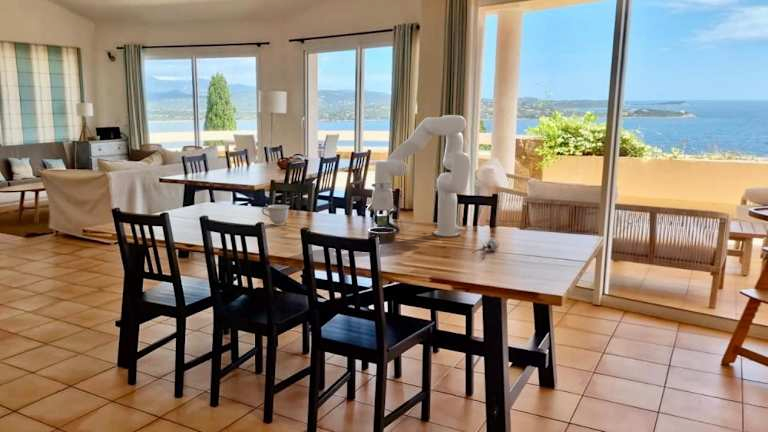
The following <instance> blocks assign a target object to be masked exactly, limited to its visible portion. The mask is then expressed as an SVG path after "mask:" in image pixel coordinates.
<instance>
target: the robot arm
mask: <svg viewBox="0 0 768 432" xmlns="http://www.w3.org/2000/svg"><path fill="white" fill-rule="evenodd" d="M466 127H467V121H466V118H465V117H463V116H462V115H460V114H445V115H442V116H441V117H434V116H433V117H424V119H423V120H422V121H421V122H420V123H419V124H418V125H417V127H416V128H415V130H413V132H412V133H411V134H410V136H409V137H408V138H407V139H406V140H404V142H402V143H401V144H400V145H399V146H397V147H396V148H395V149H394V150H393V151H392V152H391V153H390V155H389V156H388V157H387V159H377V160H376V161H375V163H374V182H373V183H371V187H373V189H372V193H371V203H370V204H369V205H368V206H367V208H366V210H367V211H369V212H370V213H371V214H372V215H373V223H375V225H377V214H378V212H379V211H386V215H387V225H388V223H389V222H390V216H392V214H394V212H396V211H397V210H398V209H397V207H396V205H395V204H394V193H393V189H392V188H391V181H392V180H391V178H392V177H391V176H396V177H400V176H401V177H402V176H405V175H406V174H407V173H408V171H409V165H408V163H407V162H406V161H405V160H406V159H407V158H409V157H411V156H412V155H415V154H417V153H418V154H419V153H420V152H421V151H422V150H423V149H424V148H425V147H426V146H427V144H428V143H429V141H430V140H431V139H432V137H433V136H445V139H446V140H445V141H446V142H445V149H444V155H443V161H442V162H443V163H442V164H443V166H444V168H445V169H447V170H448V171H449V170H450V171H451V172H443V173H441V174H439V176H438V177H437V179H436V180H437V181H436V188H437V198H438V199H437V227H436V228H437V229H436V230H434V231H433V234H434V235H435V236H438V237H444V238H445V237H446V238H447V237H448V238H449V237H452V238H453V237H457V236H459V235H460V232H466V227H462V226H458V225H457V216H458V215H457V214H458V196H457V195H459V194H462V193H463V192H465V190H466V189H467V187H468V183H469V177H470V172H471V166H472V162H471V157H470V156H469V155H468V154H467V153H466V152H464V151H463V150H464V135H463V133H462V132H463V131H465V129H466Z"/></svg>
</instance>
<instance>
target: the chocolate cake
mask: <svg viewBox="0 0 768 432" xmlns="http://www.w3.org/2000/svg"><path fill="white" fill-rule="evenodd" d="M378 227H384V228H392V229H395V230H396V234H399V233H400V231H401V229H400V227H399V226H397V225H394V224H393V223H392V222H390V221H389V223H388V225H377V224H376V228H378Z"/></svg>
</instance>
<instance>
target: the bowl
mask: <svg viewBox="0 0 768 432" xmlns="http://www.w3.org/2000/svg"><path fill="white" fill-rule="evenodd" d="M372 235H374V236H378V237H379V241H380V243H379V244H391V243H394V242H395V241H397V240H396V239H397V233H396V230H395V229H392V228H384V227H378V228H377V227H371V228H368V229H367V238H368V237H370V236H372Z"/></svg>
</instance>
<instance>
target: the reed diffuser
mask: <svg viewBox="0 0 768 432" xmlns="http://www.w3.org/2000/svg"><path fill="white" fill-rule="evenodd" d="M499 247H500V243H499V242H498V241H497V240H496V239H489V241H487V243H486V245H485V244H482V248H479V249H477V250H475V251H472V253H476V252H479V251H481V250H486V252H485V253H484V256H483V258H482V260H484V259H485V257H486V255H487V253H488V251H490V252H494V251H496V250H498V249H499Z"/></svg>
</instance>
